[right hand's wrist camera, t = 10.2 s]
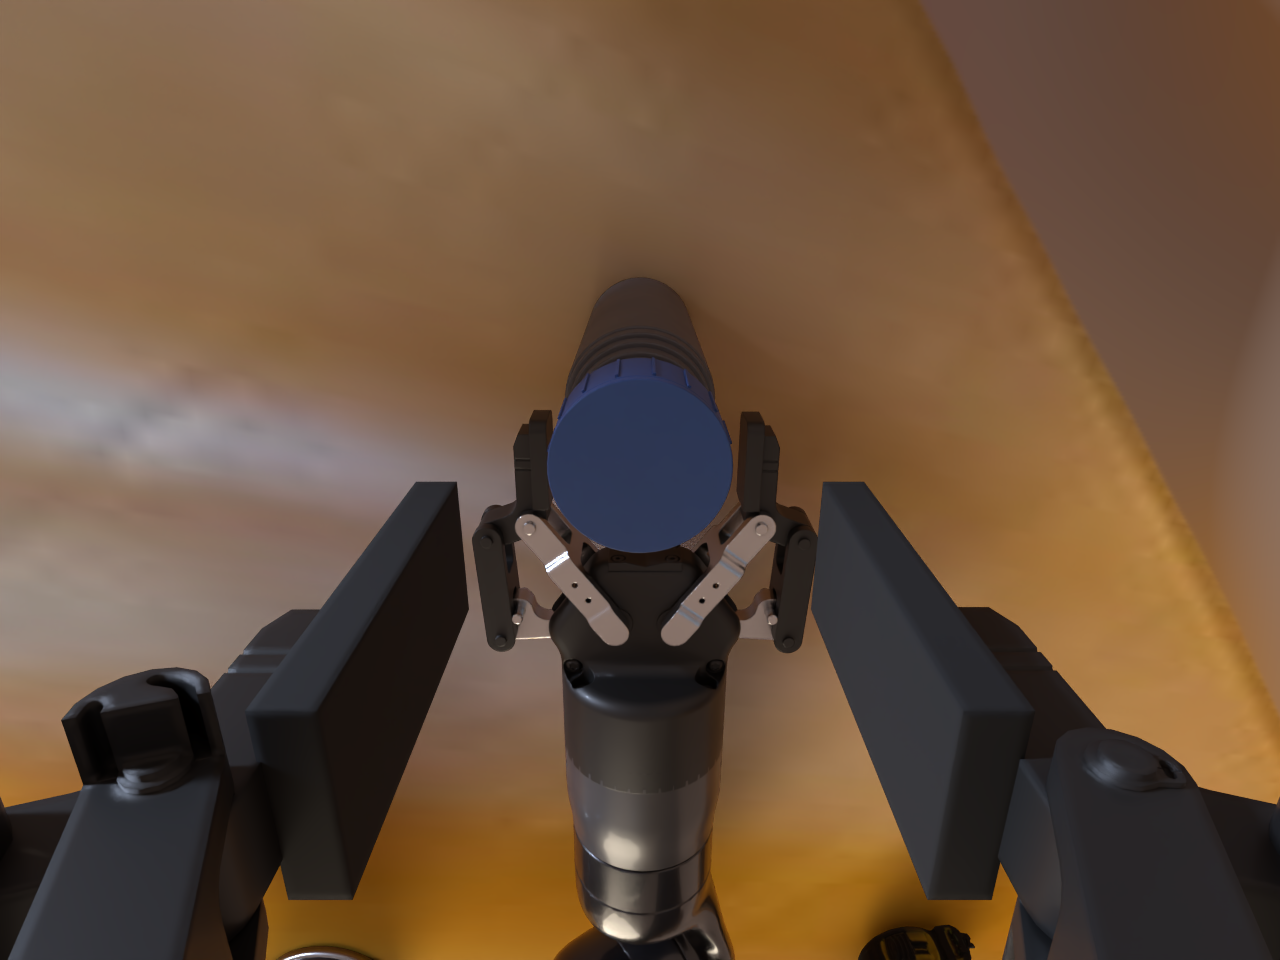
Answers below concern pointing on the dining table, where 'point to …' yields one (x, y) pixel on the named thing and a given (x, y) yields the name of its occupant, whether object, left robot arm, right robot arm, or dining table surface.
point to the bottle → (639, 331)
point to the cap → (640, 456)
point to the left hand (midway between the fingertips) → (646, 415)
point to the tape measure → (919, 944)
